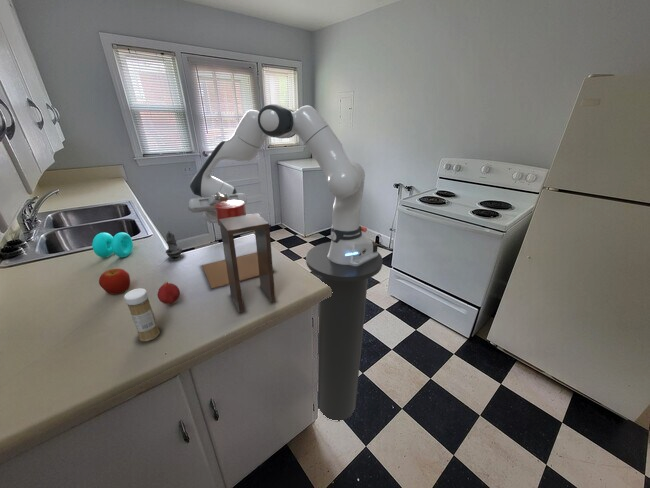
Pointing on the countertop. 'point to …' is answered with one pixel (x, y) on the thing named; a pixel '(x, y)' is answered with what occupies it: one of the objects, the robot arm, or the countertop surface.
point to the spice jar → (142, 314)
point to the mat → (220, 276)
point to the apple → (115, 281)
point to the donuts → (112, 244)
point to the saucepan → (228, 207)
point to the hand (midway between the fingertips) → (221, 196)
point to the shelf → (263, 253)
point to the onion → (168, 293)
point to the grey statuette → (173, 248)
